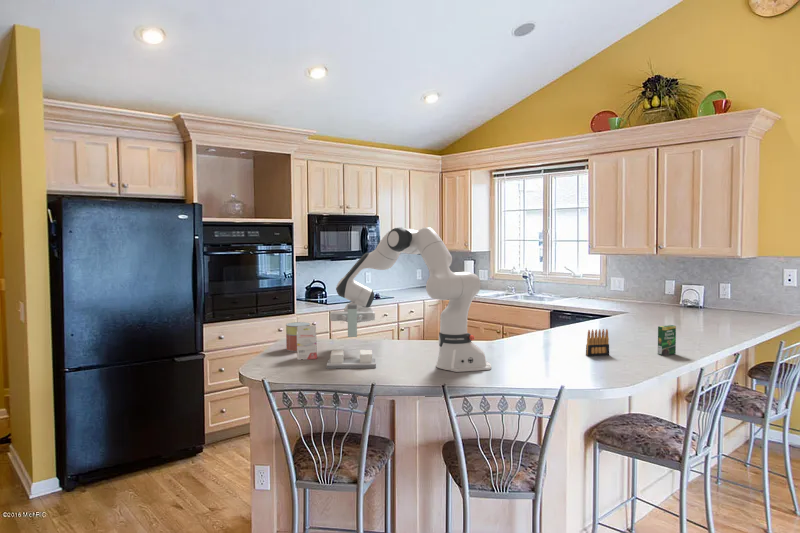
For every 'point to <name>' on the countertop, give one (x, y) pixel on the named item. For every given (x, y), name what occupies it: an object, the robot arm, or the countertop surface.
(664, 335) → the coffee box
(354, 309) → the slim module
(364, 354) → the mounting board
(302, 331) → the ink cartridge box
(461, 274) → the robot arm
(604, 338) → the ammunition clip
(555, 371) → the countertop surface
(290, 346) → the canned food
